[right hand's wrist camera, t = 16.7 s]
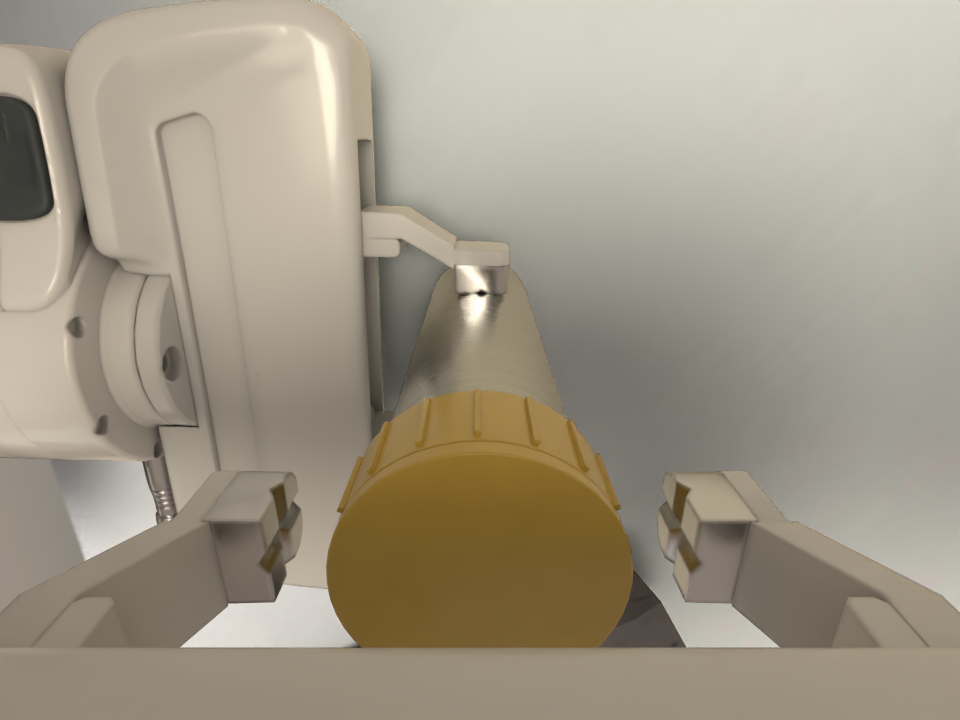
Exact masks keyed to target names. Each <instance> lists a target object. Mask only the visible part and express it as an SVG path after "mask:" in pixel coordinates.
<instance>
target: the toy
mask: <svg viewBox="0 0 960 720" xmlns="http://www.w3.org/2000/svg"><path fill="white" fill-rule="evenodd" d="M598 648H686V646H685V644H684V643H683V641H682V639H681V637H680V635H679V634H678V632H677V630H676V628H675V626H674V625H673V623H672V621H671V619H670V617H669V615H668V614H667V612H666V610H665V608H664V606H663V605H662V603H661V601H660V600H659V599H658V598H657V597H656V595H655V594H654V593H653V592H652V591H651V590H650V588H649V587H648V586H647V585H646V584H645V583H644V582H643V580H642V579H641V578H640V577H639V576H638V575H637V574H636V572H635V571H634V570H633V580H632V587H631V592H630V596H629V600H628V603H627V605H626V608H625V610H624V613H623V615H622V617H621V618H620V620H619V622H618V623H617V625H616V627H615V628H614V630H613V631H612V632H611V633H610V635H609V636H608V637H607V638H606V640H605V641H604V642H603V643H602V644H601V645H600V646H599V647H598Z"/></svg>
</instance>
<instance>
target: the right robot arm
mask: <svg viewBox="0 0 960 720" xmlns="http://www.w3.org/2000/svg"><path fill="white" fill-rule="evenodd" d="M297 492H298V486H297V480H296V476H295V475H294V474H293V473H292V472H273V471H216V472H213V473H211V474H210V476H209V477H208V478H207V479H206V480H205V482H204V483H203V484H202V485H201V486H200V488H199V489H198V490H197V491H196V492H195V494H194V495H193V496H192V497H191V498H190V500H189V501H188V502H187V503H186V504H185V506H184V507H183V508H182V509H181V511H180V512H179V513H178V514H177V515H176V517H175V518H174V519H173V520H172V521H171V522H162V523H160V524H158V525H156V526H154V527H152V528H150V529H148V530H146V531H144V532H142V533H140V534H138V535H136V536H134V537H132V538H130V539H128V540H126V541H124V542H122V543H120V544H118V545H116V546H114V547H112V548H110V549H108V550H106V551H104V552H102V553H100V554H98V555H96V556H95V557H93V558H91V559H89V560H87V561H85V562H83V563H81V564H79V565H77V566H75V567H73V568H71V569H69V570H67V571H65V572H63V573H61V574H59V575H57V576H55V577H53V578H51V579H49V580H47V581H45V582H43V583H41V584H39V585H37V586H35V587H33V588H31V589H30V590H27V591H25V592H23V593H22V594H20V595H18V596H17V597H16V598H15V599H14V600H13V601H12V602H11V603H10V604H9V605H8V606H7V607H6V608H5V609H4V610H3V611H2V612H1V613H0V720H960V612H959V611H958V610H957V609H956V608H954V607H953V606H952V605H951V604H950V603H949V602H948V601H947V600H946V599H945V598H944V597H943V596H942V595H940V594H938V593H936V592H934V591H932V590H930V589H928V588H926V587H924V586H922V585H920V584H918V583H916V582H914V581H913V580H911V579H909V578H907V577H905V576H903V575H901V574H899V573H897V572H895V571H893V570H891V569H889V568H887V567H885V566H883V565H881V564H879V563H877V562H875V561H873V560H871V559H869V558H867V557H865V556H863V555H861V554H859V553H857V552H855V551H853V550H852V549H850V548H848V547H846V546H844V545H842V544H840V543H838V542H836V541H834V540H832V539H830V538H828V537H826V536H824V535H822V534H820V533H818V532H816V531H814V530H812V529H810V528H808V527H806V526H804V525H802V524H800V523H798V522H789V521H788V520H787V519H786V518H785V517H784V515H783V514H782V513H781V512H780V511H779V509H778V508H777V507H776V506H775V505H774V503H773V502H772V501H771V500H770V499H769V497H768V496H767V495H766V494H765V493H764V491H763V490H762V489H761V488H760V487H759V485H758V484H757V483H756V482H755V481H754V479H753V478H752V477H751V476H750V475H749V473H747V472H745V471H743V470H740V471H717V472H674V473H666V475H665V477H664V479H663V485H662V492H663V494H664V496H665V498H666V500H667V501H666V502H665V503H664V504H663V505H662V506H661V507H660V508H659V511H658V520H657V529H658V539H659V543H660V547H661V549H662V552H663V554H664V556H665V558H666V559H668V560H669V561H671V562H672V563H673V564H674V570H673V576H674V579H675V581H676V583H677V585H678V587H679V589H680V592H681V594H682V596H683V598H684V600H685V602H697V603H732V606H733V607H734V608H735V609H736V610H738V611H739V612H740V613H741V614H742V615H743V616H745V617H746V618H747V619H748V620H749V621H750V622H752V623H753V624H754V625H755V626H756V627H757V628H759V629H760V630H761V631H762V632H763V633H764V634H766V635H767V636H768V637H769V638H770V639H771V640H773V641H774V642H775V643H776V644H777V645H778V646H780V647H781V648H179V647H181V646H182V645H183V644H184V643H185V642H186V641H188V640H189V639H190V638H191V637H192V636H193V635H195V634H196V633H197V632H198V631H199V630H200V629H202V628H203V627H204V626H205V625H206V624H207V623H209V622H210V621H211V620H212V619H213V618H214V617H216V616H217V615H218V614H219V613H220V612H221V611H223V610H224V609H225V608H226V607H227V606H228V603H262V602H275V600H276V598H277V596H278V594H279V592H280V589H281V587H282V585H283V583H284V581H285V579H286V576H287V570H286V564H287V563H288V562H289V561H291V560H292V559H294V558H295V556H296V554H297V552H298V549H299V547H300V542H301V537H302V532H303V518H302V511H301V508H300V507H299V506H298V505H297V504H296V503H295V502H294V501H293V500H294V498H295V496H296V494H297Z"/></svg>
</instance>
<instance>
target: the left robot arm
mask: <svg viewBox="0 0 960 720" xmlns="http://www.w3.org/2000/svg"><path fill="white" fill-rule="evenodd" d="M408 243H409V244H411V245H412V246H414V247H416V248H417V249H419V250H421V251H423V252H424V253H426V254H428V255H429V256H431V257H433V258H435V259H436V260H438V261H440V262H442V263H443V264H445V265H447V266H448V267H450V268H452V269H454V265H455V294H476V293H477V292H479V291H480V290H482V291H484V292H485V293H487V294H491V295H501V294H505V293H507V286H508V273H509V255H510V248H509V245H508V244H507V243H501V242H487V241H457V237H456V236H454V235H453V234H451V233H450V232H448V231H447V230H445V229H443V228H442V227H440V226H439V225H437V224H435V223H434V222H432V221H431V220H429V219H428V218H426V217H424V216H423V215H421V214H420V213H418V212H416V211H415V210H413V209H412V208H410V207H409V206H387V205H376V194H375V169H374V143H373V118H372V93H371V67H370V56H369V52H368V50H367V48H366V46H365V45H364V43H363V42H362V41H361V40H360V39H359V38H358V36H357V35H356V34H355V33H354V32H353V31H352V29H351V28H350V27H349V26H348V25H347V24H346V23H345V22H344V21H343V20H342V19H341V18H340V17H338V16H337V15H336V14H335V13H333V12H332V11H331V10H329V9H328V8H326V7H324V6H322V5H320V4H318V3H315V2H312V1H309V0H210V1H199V2H188V3H180V4H172V5H165V6H158V7H151V8H145V9H139V10H134V11H130V12H125V13H121V14H118V15H115V16H112V17H110V18H107V19H105V20H103V21H101V22H99V23H98V24H96V25H94V26H93V27H91V28H90V29H89V30H88V31H87V32H85V33H84V34H83V35H82V36H81V38H80V39H79V40H78V41H77V43H76V44H75V46H74V47H73V49H72V51H70V50H64V49H58V48H50V47H42V46H33V45H19V44H0V457H2V458H30V459H68V460H111V461H142V463H143V467H144V471H145V475H146V479H147V482H148V486H149V488H150V491H151V493H152V495H153V498H154V501H155V505H156V509H157V512H156V521H157V525H158V524H160V523H162V522H171V521H172V520H173V519H174V518H175V517H176V515H177V514H178V513H179V512H180V511H181V509H182V508H183V507H184V506H185V504H186V503H187V502H188V501H189V500H190V498H191V497H192V496H193V495H194V494H195V492H196V491H197V490H198V489H199V488H200V486H201V485H202V484H203V483H204V482H205V480H206V479H207V478H208V477H209V476H210V474H211V473H213V472H216V471H273V472H292V473H293V474H294V475H295V476H296V480H297V486H298V492H297V494H296V496H295V498H294V500H293V501H294V502H295V503H296V504H297V505H298V506H299V507H300V508H301V511H302V518H303V532H302V537H301V542H300V547H299V549H298V552H297V554H296V556H295V558H294V559H292V560H291V561H289V562H288V563H287V564H286V570H287V576H286V579H285V581H284V583H283V584H286V585H293V586H302V587H312V588H323V589H328V587H327V579H326V563H327V554H328V549H329V546H330V542H331V539H332V536H333V533H334V530H335V528H336V525H337V523H338V520H339V517H340V515H341V513H339V512H337V509H338V506H339V504H340V501H341V499H342V496H343V494H344V491H345V489H346V486H347V484H348V481H349V478H350V476H351V473H352V471H353V468H354V466H355V463H356V461H357V458H358V456H360V457H363V456H364V454H365V451H366V449H367V448H368V446H369V445H370V444H371V442H372V441H373V439H374V438H375V436H376V435H377V434H378V433H379V432H380V431H381V428H382V425H383V423H385V422H386V421H387V422H388V423H389V422H390V421H392V418H393V415H394V412H384V396H383V371H382V346H381V320H380V295H379V270H378V257H398V255H399V254H400V253H401V252H402V250H403V249H404V248H405V247H406V245H407V244H408Z"/></svg>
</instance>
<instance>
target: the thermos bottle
mask: <svg viewBox="0 0 960 720" xmlns="http://www.w3.org/2000/svg"><path fill="white" fill-rule="evenodd" d="M475 388H480V389H481V390H486V391H499V392H505V393H510V394H515V395H518V396H522V397H525V398H526V396H529V397H532V400H534V401H536V402H538V403H540V404H542V405H545V406H547V407H549V408H550V409H552V410H553V411H555V412H557V413H558V414H560V415H561V416H563V417H564V418H565V419H566V420H567V418H566V415H565V411H564V408H563V405H562V402H561V399H560V396H559V393H558V390H557V387H556V384H555V380H554V377H553V374H552V371H551V368H550V365H549V362H548V359H547V356H546V352H545V349H544V346H543V343H542V340H541V337H540V334H539V331H538V328H537V325H536V321H535V318H534V315H533V312H532V309H531V306H530V303H529V300H528V297H527V293H526V290H525V288H524V285H523V283H522V281H521V280H520V278H519V277H518V276H517V274H516V273H515V272H514V271H513V270H512V269H511V268H509V273H508V286H507V293H505V294H501V295H491V294H487V293H485V292H484V291H482V290H480V291H479V292H477V293H476V294H455V265H454V269H452V268H449V269H447V270H446V271H445V272H444V273H443V274H442V275H441V277H440V278H439V280H438V281H437V283H436V285H435V287H434V290H433V293H432V297H431V300H430V303H429V306H428V309H427V312H426V315H425V318H424V321H423V325H422V328H421V331H420V334H419V337H418V340H417V343H416V346H415V350H414V353H413V356H412V359H411V362H410V365H409V368H408V371H407V374H406V378H405V381H404V384H403V387H402V390H401V393H400V396H399V399H398V403H397V406H396V409H395V412H394V415H393V418H392V420H393V419H394V418H395V417H397V416H398V415H399V414H401V413H403V412H404V411H406V410H407V409H409V408H411V407H412V406H415V405H417V404H419V403H421V402H423V401H424V399H425V398H427V397H430V399H431V398H434V397H438V396H441V395H444V394H449V393H455V392H460V391H473V390H475Z"/></svg>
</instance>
